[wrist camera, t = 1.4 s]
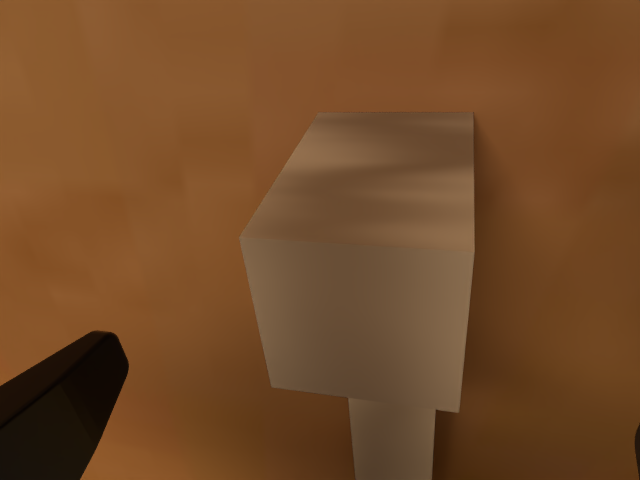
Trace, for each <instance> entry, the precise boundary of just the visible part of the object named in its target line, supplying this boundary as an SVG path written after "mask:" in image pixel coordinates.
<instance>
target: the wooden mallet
mask: <svg viewBox="0 0 640 480" xmlns="http://www.w3.org/2000/svg"><path fill="white" fill-rule="evenodd" d="M239 239H240V244H241V249H242V253H243V258H244V263H245V267H246V272H247V276H248V281H249V286H250V290H251V295H252V300H253V304H254V309H255V314H256V318H257V323H258V328H259V332H260V337H261V342H262V346H263V351H264V355H265V360H266V365H267V369H268V374H269V379H270V383H271V387H273V388H280V389H287V390H295V391H302V392H309V393H317V394H324V395H331V396H339V397H346V398H348V403H349V414H350V425H351V436H352V447H353V458H354V469H355V480H432V470H433V452H434V435H435V417H436V410H441V411H449V412H456V413H459V408H460V397H461V387H462V377H463V366H464V356H465V346H466V335H467V325H468V315H469V305H470V294H471V284H472V274H473V263H474V253H475V243H474V112H319V113H318V114H317V116H316V117H315V119H314V120H313V122H312V124H311V125H310V127H309V128H308V130H307V131H306V133H305V135H304V136H303V138H302V139H301V141H300V142H299V144H298V146H297V147H296V149H295V150H294V152H293V153H292V155H291V157H290V158H289V160H288V161H287V163H286V164H285V166H284V168H283V169H282V171H281V172H280V174H279V175H278V177H277V179H276V180H275V182H274V183H273V185H272V186H271V188H270V190H269V191H268V193H267V194H266V196H265V197H264V199H263V201H262V202H261V204H260V205H259V207H258V208H257V210H256V212H255V213H254V215H253V216H252V218H251V219H250V221H249V223H248V224H247V226H246V227H245V229H244V230H243V232H242V234H241V235H240V237H239Z"/></svg>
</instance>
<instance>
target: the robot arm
mask: <svg viewBox="0 0 640 480" xmlns="http://www.w3.org/2000/svg"><path fill="white" fill-rule="evenodd" d="M128 370H129V363H128V359H127V357H126V355H125V353H124V350H123V348H122V346H121V343H120V341H119V339H118V337H117V335H116V334H114V333H112V332H106V331H92V332H90V333H88V334H86V335H85V336H83V337H81V338H80V339H78V340H76V341H75V342H73V343H71V344H70V345H68V346H66V347H65V348H63V349H61V350H60V351H58V352H56V353H55V354H53V355H51V356H50V357H48V358H46V359H45V360H43V361H41V362H40V363H38V364H36V365H35V366H33V367H31V368H30V369H28V370H26V371H25V372H23V373H21V374H20V375H18V376H16V377H15V378H13V379H11V380H9V381H8V382H6V383H4V384H3V385H1V386H0V480H80V479H81V477H82V475H83V473H84V471H85V469H86V467H87V465H88V464H89V462H90V460H91V458H92V456H93V454H94V452H95V450H96V448H97V446H98V443H99V441H100V439H101V437H102V434H103V432H104V430H105V427H106V425H107V422H108V420H109V418H110V415H111V413H112V410H113V408H114V406H115V403H116V401H117V398H118V396H119V394H120V391H121V389H122V386H123V384H124V382H125V379H126V377H127V374H128ZM635 452H636V459H637V466H638V473H639V480H640V424H639V426H638V428H637V431H636V435H635Z"/></svg>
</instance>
